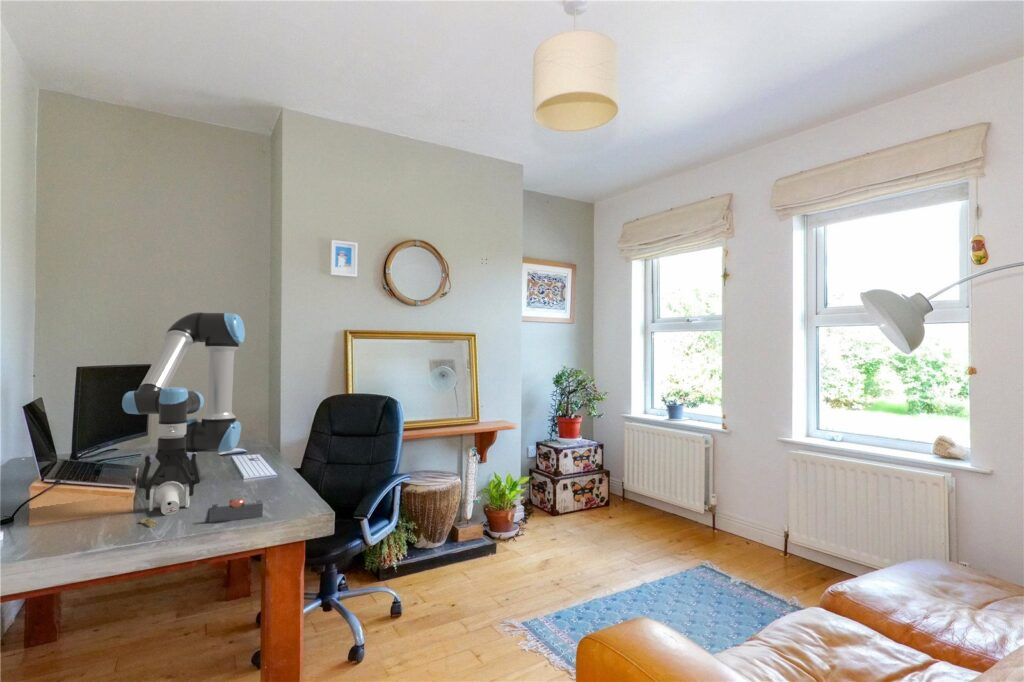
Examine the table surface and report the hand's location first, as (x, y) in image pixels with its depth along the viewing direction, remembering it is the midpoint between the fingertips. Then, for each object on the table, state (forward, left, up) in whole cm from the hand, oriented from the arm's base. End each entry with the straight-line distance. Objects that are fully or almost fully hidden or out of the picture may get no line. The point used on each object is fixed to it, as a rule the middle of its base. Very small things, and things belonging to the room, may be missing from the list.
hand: (169, 508), depth 163 cm
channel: (+13, +19, 0) cm, 23 cm away
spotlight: (+1, 0, -1) cm, 1 cm away
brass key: (+15, -3, 0) cm, 15 cm away
